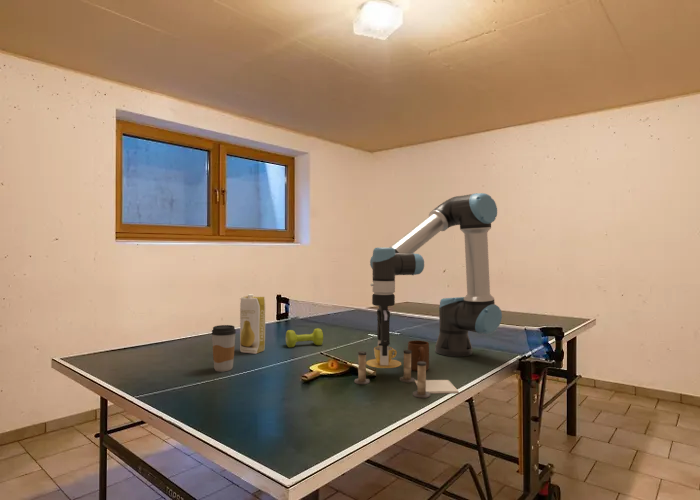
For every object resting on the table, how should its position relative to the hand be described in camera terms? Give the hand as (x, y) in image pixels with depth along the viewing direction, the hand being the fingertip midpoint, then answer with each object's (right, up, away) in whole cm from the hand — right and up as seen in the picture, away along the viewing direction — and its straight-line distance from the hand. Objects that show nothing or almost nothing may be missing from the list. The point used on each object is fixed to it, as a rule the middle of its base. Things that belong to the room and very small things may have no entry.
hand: (382, 362), depth 143 cm
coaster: (+16, -5, -10) cm, 19 cm away
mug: (+14, -5, +9) cm, 17 cm away
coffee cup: (-56, -5, +8) cm, 57 cm away
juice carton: (-52, -5, +35) cm, 62 cm away
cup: (0, -1, 0) cm, 1 cm away
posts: (+1, -5, -11) cm, 12 cm away
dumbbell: (-31, -5, +47) cm, 57 cm away
